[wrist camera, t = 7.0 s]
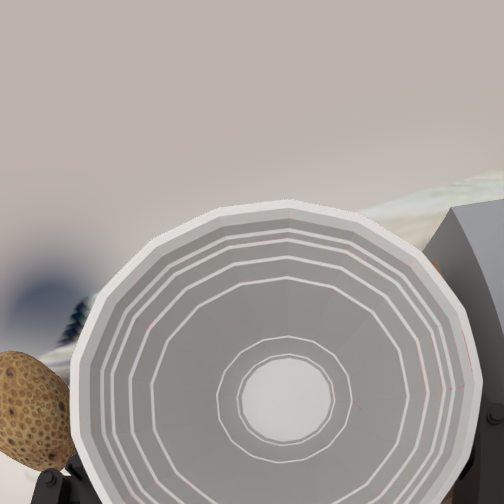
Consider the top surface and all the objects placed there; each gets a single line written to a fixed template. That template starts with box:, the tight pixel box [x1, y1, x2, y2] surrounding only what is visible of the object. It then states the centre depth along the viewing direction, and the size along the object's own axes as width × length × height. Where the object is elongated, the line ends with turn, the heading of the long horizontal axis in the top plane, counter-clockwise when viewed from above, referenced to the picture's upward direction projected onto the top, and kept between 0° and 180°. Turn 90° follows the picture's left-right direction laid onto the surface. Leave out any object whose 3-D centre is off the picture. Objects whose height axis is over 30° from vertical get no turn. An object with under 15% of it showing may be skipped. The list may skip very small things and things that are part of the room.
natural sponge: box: [0, 351, 75, 472], centre depth 13 cm, size 9×9×10 cm
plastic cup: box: [70, 199, 483, 504], centre depth 10 cm, size 11×11×12 cm
